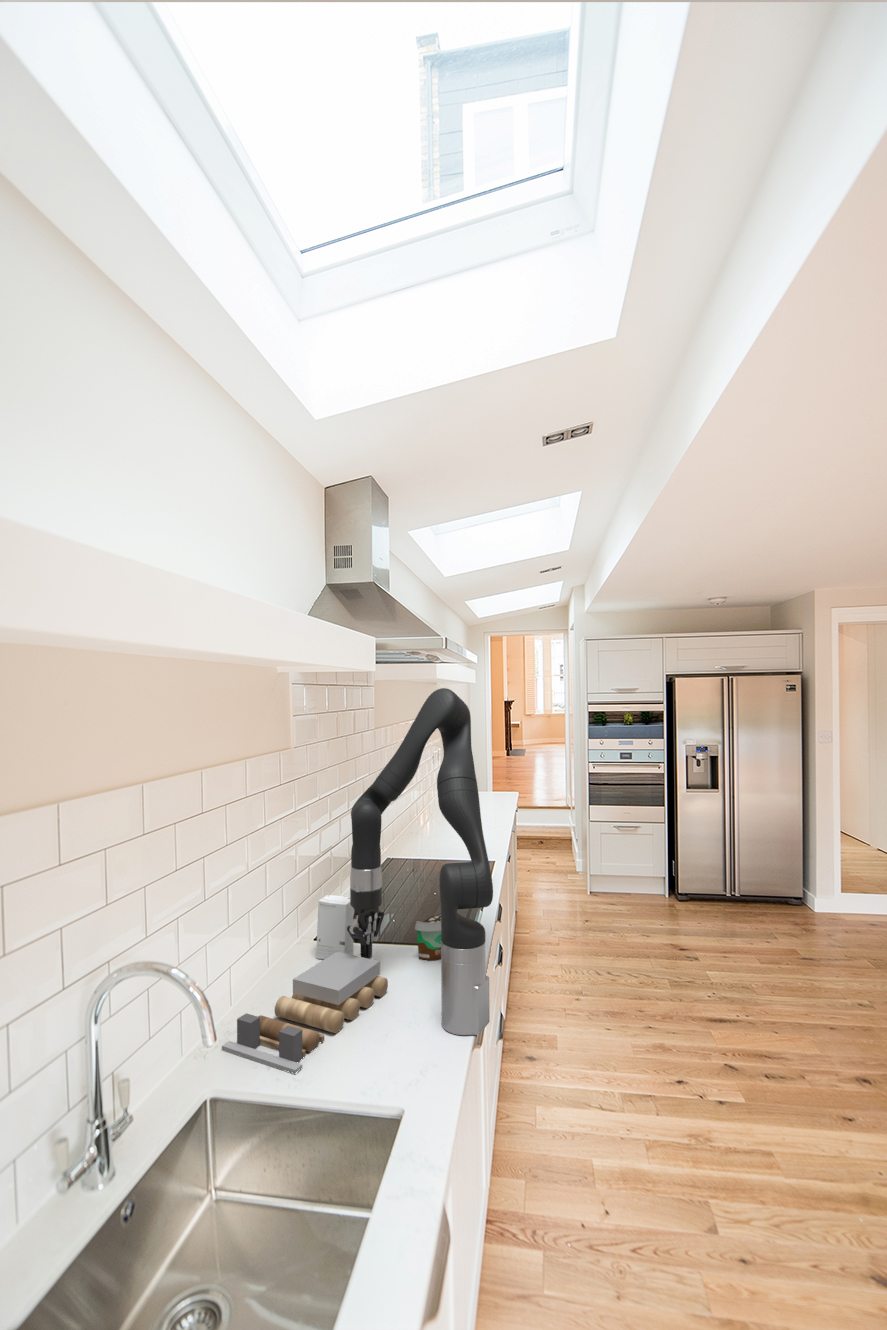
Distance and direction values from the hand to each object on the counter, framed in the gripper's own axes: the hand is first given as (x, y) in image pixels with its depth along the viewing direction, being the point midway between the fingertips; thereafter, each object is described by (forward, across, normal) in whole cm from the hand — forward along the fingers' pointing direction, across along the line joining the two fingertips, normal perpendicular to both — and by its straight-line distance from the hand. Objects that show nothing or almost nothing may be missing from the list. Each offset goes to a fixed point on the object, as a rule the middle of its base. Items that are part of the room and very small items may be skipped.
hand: (366, 958), depth 158 cm
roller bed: (+6, +17, 0) cm, 18 cm away
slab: (+1, +11, 0) cm, 11 cm away
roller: (+6, +29, 0) cm, 29 cm away
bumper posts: (+6, +34, 0) cm, 34 cm away
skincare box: (+6, -8, -15) cm, 18 cm away
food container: (+6, -21, +9) cm, 23 cm away
